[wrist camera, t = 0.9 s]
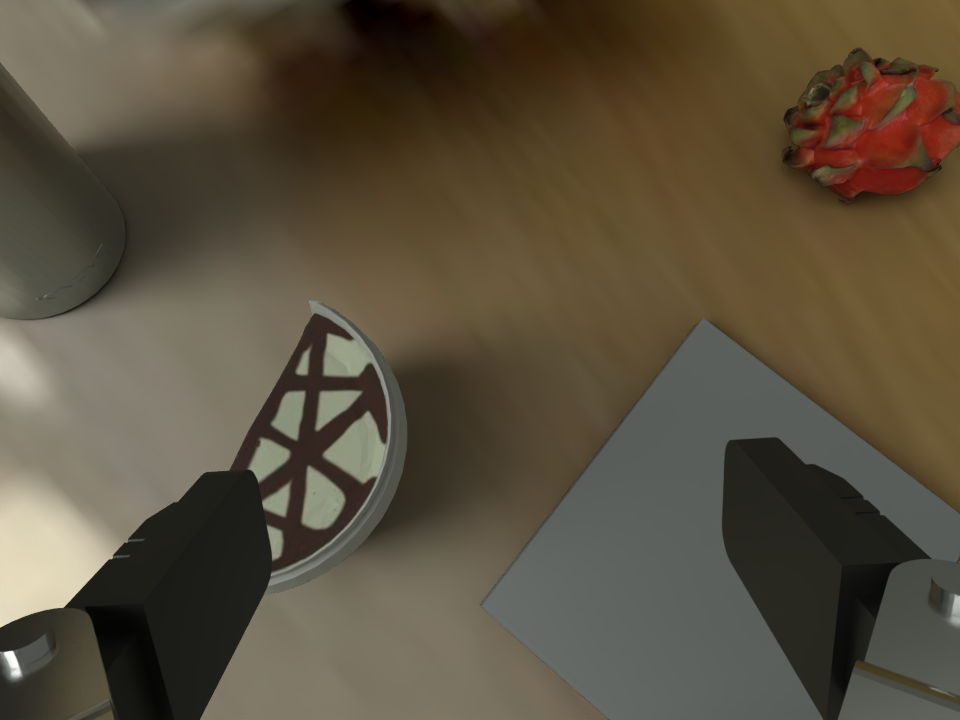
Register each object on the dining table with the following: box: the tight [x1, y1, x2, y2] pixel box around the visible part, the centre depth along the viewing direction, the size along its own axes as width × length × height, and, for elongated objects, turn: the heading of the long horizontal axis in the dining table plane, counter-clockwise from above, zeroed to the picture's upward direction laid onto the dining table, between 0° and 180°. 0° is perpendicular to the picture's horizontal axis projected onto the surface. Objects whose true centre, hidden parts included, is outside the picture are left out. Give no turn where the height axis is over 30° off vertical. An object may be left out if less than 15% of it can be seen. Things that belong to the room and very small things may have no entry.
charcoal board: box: [480, 318, 960, 720], centre depth 34 cm, size 18×20×1 cm
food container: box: [229, 299, 407, 595], centre depth 29 cm, size 12×6×10 cm, turn 158°
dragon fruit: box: [782, 48, 960, 204], centre depth 39 cm, size 8×8×12 cm
